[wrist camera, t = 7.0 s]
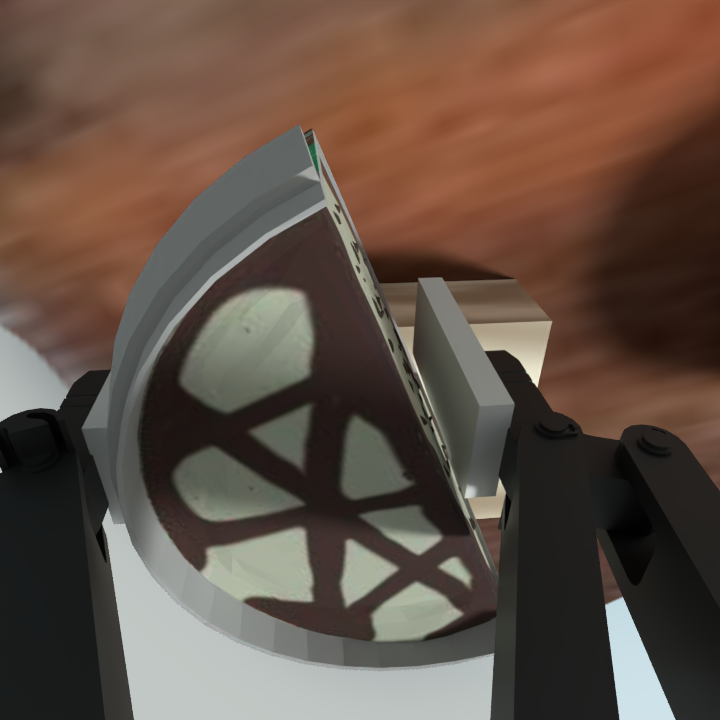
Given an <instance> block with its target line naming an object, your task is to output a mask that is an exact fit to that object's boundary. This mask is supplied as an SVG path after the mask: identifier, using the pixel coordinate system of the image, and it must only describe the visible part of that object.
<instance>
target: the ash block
mask: <svg viewBox="0 0 720 720" xmlns="http://www.w3.org/2000/svg"><path fill="white" fill-rule="evenodd" d="M444 282H445V284H446V285H447V287H448V289H449V291H450V292H451V294H452V296H453V297H454V299H455V301H456V303H457V304H458V306H459V308H460V310H461V311H462V313H463V315H464V317H465V318H466V320H467V322H468V324H469V325H470V327H471V329H472V331H473V332H474V334H475V336H476V338H477V339H478V341H479V343H480V344H481V346H482V348H483V350H484V351H495V350H506V351H507V352H508V353H510V354H511V355H513V356H514V357H516V358H517V359H518V360H519V361H520V362H521V364H522V365H523V367H524V368H525V370H526V373H528V374H529V376H530V377H531V379H532V382H533V383H535V385H536V387H537V386H538V382H539V377H540V373H541V368H542V364H543V359H544V355H545V350H546V346H547V341H548V337H549V332H550V328H551V323H552V320H551V319H550V318H549V317H548V316H547V315H546V313H545V312H544V311H543V310H542V309H541V308H540V307H539V305H538V304H537V303H536V302H535V301H534V300H533V299H532V297H531V296H530V295H529V294H528V293H527V292H526V291H525V289H524V288H523V287H522V286H521V285H520V284H519V283H518V281H517V280H516V279H505V280H475V281H444ZM379 285H380V287H381V289H382V292H383V294H384V296H385V298H386V301H387V303H388V305H389V308H390V310H391V312H392V315H393V317H394V319H395V322H396V324H397V326H398V329H399V331H400V333H401V336H402V338H403V340H404V343H405V345H406V347H407V350H408V352H409V354H410V357H411V359H412V361H413V363H414V366H415V368H416V370H417V373H418V375H419V378H420V380H421V383H422V385H423V388H424V390H425V393H426V395H427V392H426V389H425V386H424V384H423V381H422V378H421V375H420V373H419V370H418V367H417V364H416V361H415V359H414V356H413V353H412V352H413V338H414V325H415V312H416V299H417V286H418V282H414V283H383V284H379ZM427 398H428V395H427ZM428 400H429V398H428ZM429 403H430V400H429ZM430 405H431V403H430ZM431 408H432V406H431ZM432 410H433V409H432ZM433 413H434V412H433ZM434 415H435V414H434ZM435 418H436V417H435ZM505 494H506V492H505V489H504V487H503V485H502V483H501V480H500V478H499V483H498V488H497V492H496V496H489V497H476V498H468V501H469V503H470V506H471V508H472V511H473V513H474V516H475V518H476V519H482V518H495V517H501V512H502V508H503V503H504V499H505Z"/></svg>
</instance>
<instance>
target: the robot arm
mask: <svg viewBox="0 0 720 720" xmlns="http://www.w3.org/2000/svg"><path fill="white" fill-rule="evenodd" d="M412 353H413V356H414V359H415V361H416V364H417V367H418V370H419V373H420V375H421V378H422V381H423V384H424V386H425V389H426V392H427V395H428V398H429V400H430V403H431V406H432V409H433V412H434V414H435V417H436V420H437V423H438V425H439V428H440V431H441V434H442V437H443V439H444V442H445V445H446V448H447V451H448V453H449V456H450V459H451V462H452V465H453V467H454V470H455V473H456V476H457V478H458V481H459V484H460V487H461V490H462V492H463V495H464V498H476V497H489V496H496V492H497V488H498V483H499V478H500V480H501V483H502V485H503V487H504V489H505V492H506V494H505V499H504V503H503V508H502V512H501V517H500V521H499V526H498V529H501V546H500V564H499V581H498V598H497V615H496V632H495V649H494V667H493V685H492V701H491V718H490V720H619V713H618V705H617V697H616V689H615V681H614V673H613V665H612V657H611V649H610V641H609V633H608V626H607V617H606V609H605V601H604V593H603V585H602V577H601V569H600V562H599V554H598V546H597V538H596V535H597V537H598V540H599V542H600V544H601V547H602V549H603V551H604V554H605V556H606V558H607V561H608V563H609V565H610V568H611V570H612V572H613V575H614V577H615V579H616V582H617V584H618V586H619V589H620V591H621V593H622V596H623V598H624V600H625V602H626V605H627V607H628V610H629V612H630V614H631V617H632V619H633V621H634V624H635V626H636V628H637V631H638V633H639V635H640V637H641V640H642V642H643V644H644V647H645V649H646V652H647V654H648V656H649V659H650V661H651V663H652V666H653V668H654V670H655V673H656V675H657V677H658V680H659V682H660V684H661V687H662V689H663V691H664V694H665V696H666V698H667V700H668V703H669V705H670V708H671V710H672V712H673V715H674V717H675V719H676V720H720V491H719V490H718V488H717V487H716V485H715V484H714V483H713V481H712V480H711V479H710V477H709V476H708V474H707V473H706V472H705V470H704V469H703V468H702V466H701V465H700V463H699V462H698V461H697V459H696V458H695V457H694V455H693V454H692V452H691V451H690V450H689V448H688V447H687V446H686V444H685V443H684V442H683V441H681V440H680V439H679V438H678V437H677V436H675V435H674V434H672V433H670V432H668V431H667V430H664V429H661V428H658V427H655V426H649V425H633V426H630V427H628V428H626V429H624V431H623V433H622V436H621V438H620V440H613V439H607V438H601V437H594V436H590V435H586V434H583V432H582V430H581V427H580V426H579V425H578V424H577V423H576V422H575V421H574V420H573V419H571V418H569V417H567V416H565V415H563V414H560V413H557V412H553V411H552V409H551V408H550V406H549V405H548V403H547V402H546V400H545V399H544V397H543V396H542V394H541V393H540V391H539V390H538V388H537V387H536V385H535V383H533V382H532V379H531V377H530V376H529V374H528V373H526V370H525V368H524V367H523V365H522V364H521V362H520V361H519V360H518V359H517V358H516V357H514V356H513V355H511V354H510V353H508V352H507V351H506V350H495V351H484V350H483V348H482V346H481V344H480V343H479V341H478V339H477V338H476V336H475V334H474V332H473V331H472V329H471V327H470V325H469V324H468V322H467V320H466V318H465V317H464V315H463V313H462V311H461V310H460V308H459V306H458V304H457V303H456V301H455V299H454V297H453V296H452V294H451V292H450V291H449V289H448V287H447V285H446V284H445V282H444V280H443V278H442V277H437V278H418V286H417V299H416V312H415V325H414V338H413V352H412ZM110 378H111V370H96V371H88V372H87V373H86V374H85V375H83V376H82V377H81V378H79V379H78V380H77V381H76V382H74V384H73V385H72V387H71V389H70V390H69V392H68V394H67V396H66V399H64V401H63V402H62V404H61V406H60V409H59V410H58V411H56V410H54V409H44V408H39V409H33V410H26V411H23V412H20V413H17V414H14V415H12V416H10V417H8V418H7V419H5V420H3V421H1V422H0V468H1V470H2V473H0V720H134V718H133V711H132V704H131V697H130V690H129V684H128V678H127V671H126V664H125V658H124V650H123V644H122V638H121V630H120V624H119V617H118V610H117V603H116V597H115V590H114V584H113V577H112V570H111V563H110V557H109V550H108V543H107V537H106V534H105V531H104V528H103V526H102V522H103V519H104V516H105V514H106V511H107V508H109V511H110V514H111V517H112V520H113V523H114V524H123V523H125V521H124V518H123V515H122V512H121V509H120V504H119V501H118V498H117V495H116V492H115V489H114V486H113V483H112V480H111V473H110V463H109V453H108V443H107V422H108V405H109V389H110Z"/></svg>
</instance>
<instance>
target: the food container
mask: <svg viewBox="0 0 720 720" xmlns="http://www.w3.org/2000/svg"><path fill="white" fill-rule="evenodd" d="M107 443H108V453H109V463H110V473H111V480H112V483H113V486H114V489H115V492H116V495H117V498H118V501H119V504H120V509H121V512H122V515H123V518H124V521H125V524H126V527H127V530H128V533H129V536H130V538H131V542H132V545H133V546H134V548H135V550H136V551H137V553H138V555H139V556H140V558H141V559H142V561H143V563H144V564H145V566H146V568H147V569H148V571H149V573H150V574H151V576H152V577H153V578H154V579H155V580H156V582H158V584H159V585H160V586H161V587H162V588H163V589H164V590H165V591H166V592H167V593H168V595H169V596H170V597H171V598H172V599H173V600H174V601H175V602H176V603H177V604H178V605H180V606H181V607H182V608H183V609H185V610H186V611H187V612H189V613H190V614H191V615H193V616H194V617H195V618H197V619H198V620H199V621H200V622H202V623H203V624H204V625H206V626H208V627H210V628H211V629H213V630H215V631H217V632H219V633H220V634H222V635H224V636H226V637H228V638H230V639H231V640H234V641H235V642H237V643H240V644H242V645H245V646H248V647H250V648H253V649H255V650H258V651H261V652H263V653H266V654H268V655H271V656H276V657H280V658H283V659H288V660H291V661H295V662H299V663H304V664H308V665H315V666H322V667H329V668H336V669H346V670H369V671H387V670H388V671H389V670H410V669H422V668H429V667H437V666H445V665H452V664H458V663H462V662H467V661H471V660H475V659H480V658H484V657H488V656H493V655H494V649H495V632H496V615H497V598H498V581H499V576H498V574H497V571H496V569H495V566H494V564H493V561H492V559H491V556H490V553H489V551H488V548H487V546H486V543H485V541H484V538H483V536H482V533H481V531H480V528H479V526H478V523H477V521H476V518H475V516H474V513H473V511H472V508H471V506H470V503H469V501H468V498H464V495H463V492H462V490H461V487H460V484H459V481H458V478H457V476H456V473H455V470H454V467H453V465H452V462H451V459H450V456H449V453H448V451H447V448H446V445H445V442H444V439H443V437H442V434H441V431H440V428H439V425H438V423H437V420H436V418H435V415H434V413H433V410H432V408H431V405H430V403H429V400H428V398H427V395H426V393H425V390H424V388H423V385H422V383H421V380H420V378H419V375H418V373H417V370H416V368H415V366H414V363H413V361H412V359H411V357H410V354H409V352H408V350H407V347H406V345H405V343H404V340H403V338H402V336H401V333H400V331H399V329H398V326H397V324H396V322H395V319H394V317H393V315H392V312H391V310H390V308H389V305H388V303H387V301H386V298H385V296H384V294H383V292H382V289H381V287H380V285H379V282H378V280H377V278H376V275H375V273H374V271H373V268H372V266H371V264H370V261H369V259H368V257H367V254H366V252H365V250H364V247H363V245H362V243H361V240H360V238H359V236H358V233H357V231H356V229H355V226H354V224H353V222H352V220H351V217H350V215H349V213H348V210H347V208H346V206H345V203H344V201H343V199H342V196H341V194H340V192H339V189H338V187H337V185H336V182H335V180H334V178H333V175H332V173H331V171H330V168H329V166H328V164H327V161H326V159H325V157H324V154H323V152H322V150H321V148H320V145H319V143H318V141H317V138H316V136H315V134H314V131H313V129H310V130H308V131H307V132H305V133H303V132H302V130H301V127H300V125H297V126H295V127H294V128H292V129H290V130H289V131H287V132H285V133H284V134H282V135H280V136H279V137H277V138H275V139H274V140H272V141H270V142H269V143H267V144H265V145H263V146H262V147H260V148H258V149H257V150H255V151H253V152H252V153H250V154H248V155H247V156H245V157H244V158H243V159H241V160H240V161H239V162H238V163H237V164H235V165H234V166H233V167H232V168H231V169H229V170H228V171H227V172H226V173H225V174H224V175H222V176H221V177H220V178H219V179H218V180H216V181H215V182H214V183H213V184H212V185H210V186H209V187H208V188H207V189H206V190H205V191H203V192H202V193H201V194H200V195H199V196H197V197H196V198H195V199H194V200H193V202H192V203H191V204H190V205H189V206H188V208H187V209H186V210H185V211H184V212H183V214H182V215H181V216H180V217H179V218H178V220H177V221H176V222H175V223H174V224H173V226H172V227H171V228H170V229H169V230H168V232H167V233H166V234H165V235H164V236H163V238H162V239H161V240H160V241H159V242H158V244H157V245H156V247H155V249H154V251H153V252H152V254H151V256H150V258H149V260H148V261H147V263H146V265H145V267H144V268H143V270H142V272H141V274H140V276H139V277H138V279H137V281H136V283H135V285H134V286H133V288H132V290H131V292H130V295H129V298H128V301H127V304H126V307H125V310H124V313H123V316H122V319H121V322H120V325H119V328H118V331H117V335H116V338H115V342H114V351H113V360H112V369H111V378H110V389H109V405H108V422H107Z"/></svg>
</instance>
